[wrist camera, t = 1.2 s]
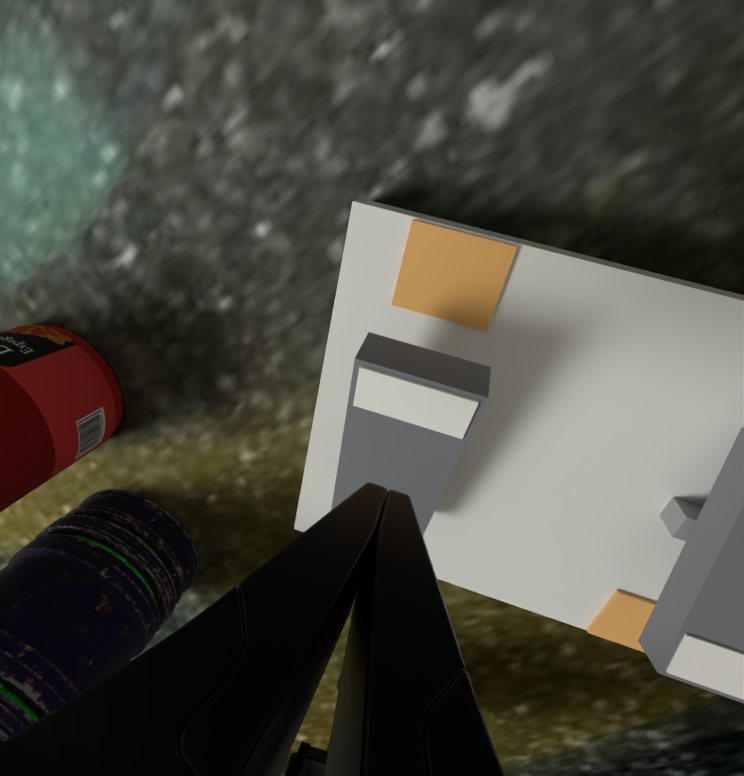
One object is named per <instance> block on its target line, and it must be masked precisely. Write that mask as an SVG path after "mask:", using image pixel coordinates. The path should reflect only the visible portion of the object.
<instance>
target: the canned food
mask: <svg viewBox="0 0 744 776" xmlns="http://www.w3.org/2000/svg"><path fill="white" fill-rule="evenodd" d="M122 412H123V403H122V396H121V392H120V388H119V385H118V383H117V381H116V378H115V376H114V374H113V372H112V371H111V369H110V367H109V365H108V364H107V363H106V362H105V360H104V359H103V358H102V356H101V355H100V354H99V353H98V352H97V351H96V350H95V349H94V348H93V347H92V346H91V345H90V344H89V343H87V342H86V341H85V340H84V339H82V338H81V337H80V336H78V335H76V334H74V333H72V332H71V331H69V330H66V329H63V328H61V327H58V326H51V325H25V326H20V327H16V328H13V329H9V330H5V331H2V332H0V512H1V511H3V510H4V509H6V508H7V507H9V506H10V505H12V504H13V503H15V502H16V501H18V500H19V499H21V498H22V497H24V496H25V495H27V494H28V493H30V492H31V491H33V490H34V489H36V488H37V487H39V486H40V485H42V484H43V483H45V482H46V481H48V480H49V479H51V478H52V477H54V476H55V475H57V474H58V473H60V472H61V471H63V470H64V469H66V468H67V467H69V466H70V465H72V464H73V463H75V462H76V461H78V460H79V459H81V458H82V457H84V456H85V455H87V454H88V453H90V452H91V451H93V450H94V449H96V448H97V447H99V446H100V445H102V444H103V443H105V442H106V441H107V440H108V438H109V437H110V436H111V435H112V434H113V432H114V431H115V430H116V428H117V427H118V425H119V423H120V421H121V418H122Z"/></svg>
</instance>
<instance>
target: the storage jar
mask: <svg viewBox="0 0 744 776" xmlns="http://www.w3.org/2000/svg"><path fill="white" fill-rule="evenodd" d="M198 569H199V560H198V554H197V551H196V548H195V546H194V544H193V542H192V540H191V538H190V536H189V535H188V533H187V532H186V531H185V529H184V528H183V527H182V526H181V525H180V523H179V522H178V521H177V520H176V519H175V518H174V517H173V516H171V515H170V514H169V513H168V512H167V511H165V510H164V509H163V508H161V507H160V506H159V505H157V504H155V503H154V502H152V501H150V500H148V499H146V498H144V497H142V496H139V495H137V494H134V493H131V492H126V491H121V490H103V491H100V492H97V493H95V494H93V495H91V496H90V497H88V498H87V499H86V500H84V501H83V502H82V503H81V504H80V505H79V507H78V508H76V509H74V510H72V511H71V512H69V513H68V514H66V515H65V516H64V517H61V518H60V519H58V520H56V521H55V522H53V523H52V524H51V525H49V526H48V527H47V528H45V529H44V530H43V531H42V532H40V533H39V534H38V535H37V536H36V538H35V539H34V540H33V541H32V542H30V543H29V544H28V545H26V546H25V547H24V548H22V549H21V550H20V551H19V552H17V553H16V554H15V555H14V556H13V557H12V558H11V559H10V561H9V564H8V565H7V566H6V567H5V568H3V569H2V570H1V571H0V743H2V742H4V741H6V740H7V739H9V738H11V737H12V736H14V735H15V734H17V733H19V732H20V731H22V730H24V729H25V728H27V727H28V726H30V725H32V724H33V723H35V722H36V721H38V720H39V719H41V718H43V717H44V716H46V715H47V714H49V713H50V712H52V711H54V710H55V709H57V708H58V707H60V706H61V705H63V704H64V703H66V702H68V701H69V700H71V699H72V698H74V697H75V696H77V695H79V694H80V693H82V692H83V691H85V690H86V689H88V688H89V687H91V686H93V685H94V684H96V683H97V682H99V681H100V680H102V679H104V678H105V677H107V676H108V675H110V674H111V673H113V672H115V671H116V670H118V669H119V668H121V667H122V666H124V665H125V664H127V663H129V662H130V661H131V659H132V658H133V657H135V656H137V655H139V654H140V653H141V652H142V651H143V650H144V648H145V647H146V645H147V644H148V643H149V642H150V641H151V639H152V637H153V636H154V635H155V633H156V632H157V631H158V630H159V629H160V628H161V627H162V626H163V625H164V623H165V622H166V621H167V619H168V618H169V616H170V615H171V614H172V612H173V610H174V608H175V606H176V604H177V603H178V601H179V600H180V598H181V597H182V595H183V592H184V591H186V590H187V588H188V587H189V586H190V585H191V584H192V582H193V581H194V579H195V578H196V576H197V573H198Z"/></svg>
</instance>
